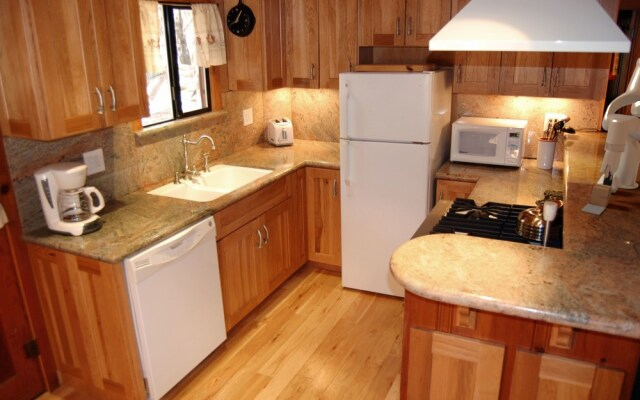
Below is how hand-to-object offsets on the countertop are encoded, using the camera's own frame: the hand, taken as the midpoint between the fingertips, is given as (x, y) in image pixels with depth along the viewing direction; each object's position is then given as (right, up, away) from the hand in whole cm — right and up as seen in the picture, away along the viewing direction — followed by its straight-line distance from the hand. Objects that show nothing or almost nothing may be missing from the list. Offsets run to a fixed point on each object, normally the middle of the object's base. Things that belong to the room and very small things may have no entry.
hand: (606, 187), depth 222 cm
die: (+7, -2, +11) cm, 13 cm away
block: (-5, -7, -4) cm, 10 cm away
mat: (-11, -9, -10) cm, 18 cm away
